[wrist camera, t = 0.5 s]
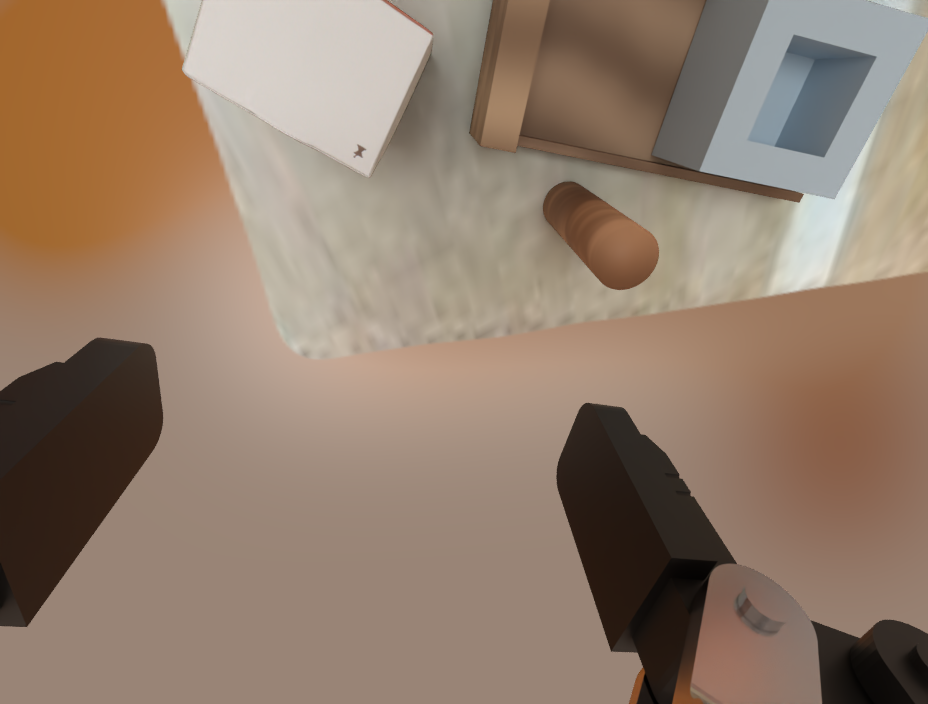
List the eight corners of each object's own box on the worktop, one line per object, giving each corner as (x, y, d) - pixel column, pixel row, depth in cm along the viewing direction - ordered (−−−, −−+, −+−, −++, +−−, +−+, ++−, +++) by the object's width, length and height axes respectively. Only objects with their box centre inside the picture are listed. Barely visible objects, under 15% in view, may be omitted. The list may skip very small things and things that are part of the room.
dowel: (550, 177, 34) (606, 221, 24) (594, 186, 35) (669, 232, 24) (538, 224, 36) (585, 284, 25) (580, 231, 36) (644, 294, 26)
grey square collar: (708, -5, 28) (779, -25, 23) (837, 30, 30) (933, 19, 24) (651, 155, 33) (699, 171, 27) (766, 179, 34) (834, 199, 28)
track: (506, -77, 27) (531, -122, 21) (865, 22, 31) (974, 9, 25) (469, 133, 32) (480, 146, 26) (779, 195, 36) (851, 219, 30)
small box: (432, 51, 30) (439, 35, 18) (388, 146, 32) (370, 184, 21) (307, -34, 27) (227, -113, 16) (270, 77, 30) (177, 76, 18)
